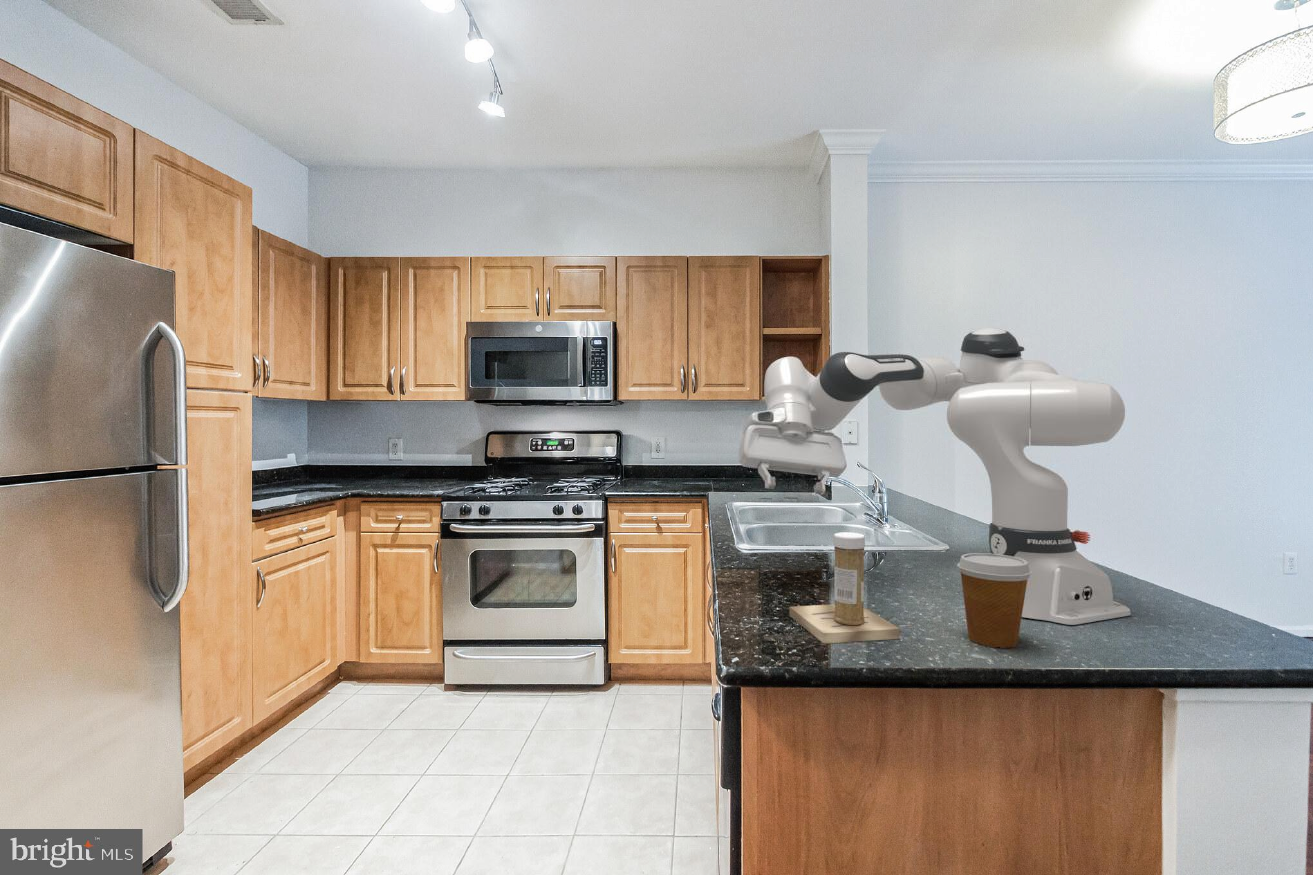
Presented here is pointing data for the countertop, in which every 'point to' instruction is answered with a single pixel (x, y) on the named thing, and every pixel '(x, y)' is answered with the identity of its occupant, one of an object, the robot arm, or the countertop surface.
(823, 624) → the maple board
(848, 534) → the sprinkles bottle
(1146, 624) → the countertop surface
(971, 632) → the disposable coffee cup
